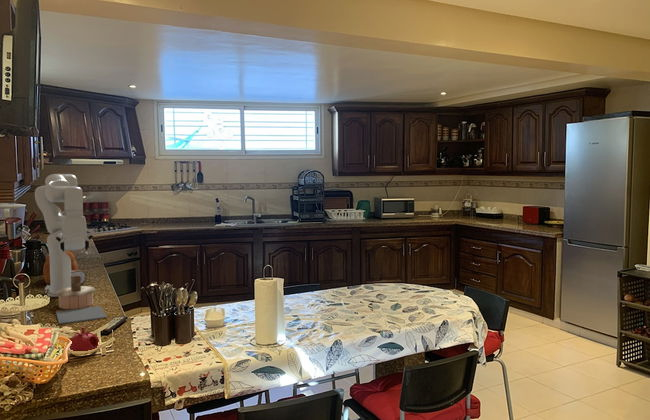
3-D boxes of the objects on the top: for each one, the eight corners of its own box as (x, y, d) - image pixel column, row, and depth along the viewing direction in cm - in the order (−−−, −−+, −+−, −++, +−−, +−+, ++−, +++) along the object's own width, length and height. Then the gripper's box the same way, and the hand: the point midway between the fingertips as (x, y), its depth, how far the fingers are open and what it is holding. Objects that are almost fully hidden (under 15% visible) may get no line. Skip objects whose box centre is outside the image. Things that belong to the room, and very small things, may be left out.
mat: (55, 312, 216) (55, 311, 216) (100, 307, 226) (100, 305, 226) (59, 324, 199) (59, 323, 199) (106, 318, 209) (106, 316, 209)
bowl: (52, 307, 224) (51, 294, 223) (73, 300, 238) (73, 288, 237) (79, 309, 221) (79, 296, 221) (99, 301, 235) (98, 289, 235)
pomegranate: (66, 361, 161) (64, 334, 160) (68, 351, 170) (67, 325, 170) (99, 356, 165) (98, 329, 164) (100, 346, 174) (98, 321, 173)
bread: (77, 275, 296) (76, 247, 294) (78, 282, 277) (77, 252, 276) (44, 277, 287) (43, 249, 286) (42, 285, 269) (41, 255, 267)
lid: (57, 298, 218) (57, 280, 217) (55, 290, 232) (54, 274, 231) (97, 293, 226) (96, 276, 226) (92, 286, 240) (92, 270, 239)
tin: (84, 283, 275) (84, 268, 275) (87, 283, 273) (87, 269, 273) (56, 287, 264) (56, 272, 263) (59, 288, 262) (58, 273, 261)
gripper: (53, 214, 219) (54, 252, 220) (95, 213, 228) (96, 250, 229) (52, 213, 225) (53, 250, 226) (93, 212, 234) (94, 247, 235)
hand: (74, 250), depth 227 cm, fingers open, 9 cm apart
